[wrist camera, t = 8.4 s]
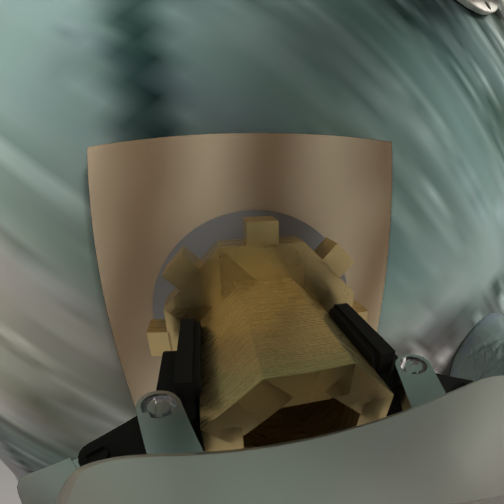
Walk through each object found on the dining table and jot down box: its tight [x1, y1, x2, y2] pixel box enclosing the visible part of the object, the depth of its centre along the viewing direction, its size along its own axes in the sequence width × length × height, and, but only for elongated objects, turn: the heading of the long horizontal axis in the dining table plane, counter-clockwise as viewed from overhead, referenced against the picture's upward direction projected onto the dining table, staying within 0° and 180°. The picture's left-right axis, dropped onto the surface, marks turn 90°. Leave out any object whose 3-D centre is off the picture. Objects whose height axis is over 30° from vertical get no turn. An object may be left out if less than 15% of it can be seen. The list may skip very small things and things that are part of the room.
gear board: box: [87, 133, 392, 452], centre depth 14 cm, size 15×25×7 cm, turn 2°
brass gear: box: [147, 216, 394, 452], centre depth 10 cm, size 10×10×7 cm
